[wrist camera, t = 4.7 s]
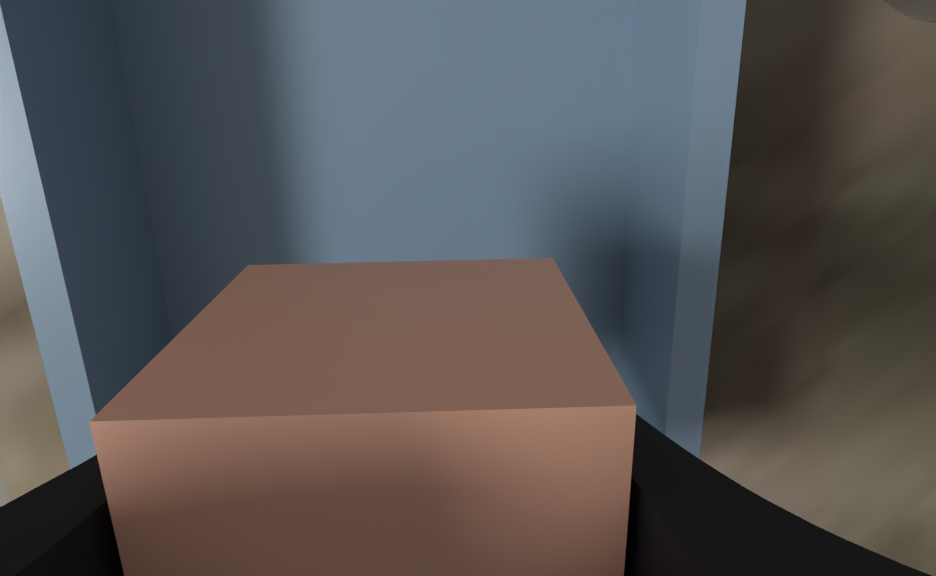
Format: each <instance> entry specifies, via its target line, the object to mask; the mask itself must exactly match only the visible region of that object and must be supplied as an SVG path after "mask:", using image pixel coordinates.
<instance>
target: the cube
mask: <svg viewBox="0 0 936 576" xmlns="http://www.w3.org/2000/svg"><path fill="white" fill-rule="evenodd" d="M636 408H637V405H636V403H635V402H634V400H633V398H632V396H631V395H630V393H629V391H628V389H627V388H626V386H625V384H624V382H623V381H622V379H621V377H620V375H619V374H618V372H617V370H616V368H615V366H614V365H613V363H612V361H611V359H610V358H609V356H608V354H607V352H606V351H605V349H604V347H603V345H602V344H601V342H600V340H599V338H598V337H597V335H596V333H595V331H594V330H593V328H592V326H591V324H590V323H589V321H588V319H587V317H586V316H585V314H584V312H583V310H582V308H581V307H580V305H579V303H578V301H577V300H576V298H575V296H574V294H573V293H572V291H571V289H570V287H569V286H568V284H567V282H566V280H565V279H564V277H563V275H562V273H561V272H560V270H559V268H558V266H557V265H556V263H555V261H554V259H553V258H526V259H484V260H441V261H399V262H356V263H314V264H271V265H248V266H247V267H246V268H245V269H244V270H243V271H242V272H241V273H240V274H239V275H238V276H237V277H236V278H235V279H234V280H233V281H232V282H231V283H230V284H229V285H228V286H226V287H225V288H224V289H223V290H222V291H221V292H220V293H219V294H218V295H217V296H216V297H215V298H214V299H213V300H212V301H211V302H210V303H209V304H208V305H207V306H206V307H205V308H204V309H203V310H202V311H201V312H200V313H199V314H198V315H197V316H196V317H195V318H194V319H193V320H192V321H191V322H190V323H189V324H188V325H187V326H186V327H185V328H184V329H183V330H182V331H181V332H180V333H179V334H178V335H177V336H176V337H175V338H174V339H173V340H172V341H171V342H170V343H169V344H168V345H167V346H166V347H165V348H164V349H163V350H162V351H160V352H159V353H158V354H157V355H156V356H155V357H154V358H153V359H152V360H151V361H150V362H149V363H148V364H147V365H146V366H145V367H144V368H143V369H142V370H141V371H140V372H139V373H138V374H137V375H136V376H135V377H134V378H133V379H132V380H131V381H130V382H129V383H128V384H127V385H126V386H125V387H124V388H123V389H122V390H121V391H120V392H119V393H118V394H117V395H116V396H115V397H114V398H113V399H112V400H111V401H110V402H109V403H108V404H107V405H106V406H105V407H104V408H103V409H102V410H101V411H100V412H99V413H98V414H97V415H96V416H95V417H93V418H92V419H91V420H90V421H89V423H90V427H91V431H92V436H93V440H94V445H95V449H96V453H97V458H98V462H99V467H100V471H101V475H102V480H103V484H104V489H105V493H106V497H107V502H108V506H109V511H110V515H111V519H112V524H113V528H114V533H115V537H116V541H117V546H118V550H119V555H120V559H121V563H122V568H123V572H124V576H624V567H625V554H626V540H627V527H628V514H629V501H630V487H631V474H632V461H633V448H634V434H635V421H636Z"/></svg>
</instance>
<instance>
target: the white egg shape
mask: <svg viewBox="0 0 936 576" xmlns="http://www.w3.org/2000/svg"><path fill="white" fill-rule="evenodd" d="M884 1H885V2H887V3H888V4H889V5H890V6H892V7H893V8H894V9H896V10H897V11H899V12H901V13H903V14H904V15H907V16H909V17H912V18H915V19H918V20H923V21H928V22H936V0H884Z"/></svg>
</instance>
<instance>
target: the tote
mask: <svg viewBox="0 0 936 576" xmlns="http://www.w3.org/2000/svg"><path fill="white" fill-rule="evenodd" d="M745 9H746V0H0V196H1V200H2V204H3V208H4V211H5V215H6V219H7V223H8V227H9V231H10V235H11V239H12V243H13V247H14V251H15V255H16V259H17V263H18V266H19V270H20V274H21V278H22V282H23V286H24V290H25V294H26V298H27V302H28V306H29V310H30V314H31V318H32V321H33V325H34V329H35V333H36V337H37V341H38V345H39V349H40V353H41V357H42V361H43V365H44V369H45V373H46V376H47V380H48V384H49V388H50V392H51V396H52V400H53V404H54V408H55V412H56V416H57V420H58V424H59V427H60V431H61V435H62V439H63V443H64V447H65V451H66V455H67V459H68V463H69V467H70V469H72V468H74V467H76V466H78V465H79V464H81V463H83V462H84V461H86V460H88V459H90V458H91V457H93V456H95V455H96V454H97V453H96V449H95V445H94V440H93V436H92V431H91V427H90V423H89V421H90V420H91V419H92V418H93V417H95V416H96V415H97V414H98V413H99V412H100V411H101V410H102V409H103V408H104V407H105V406H106V405H107V404H108V403H109V402H110V401H111V400H112V399H113V398H114V397H115V396H116V395H117V394H118V393H119V392H120V391H121V390H122V389H123V388H124V387H125V386H126V385H127V384H128V383H129V382H130V381H131V380H132V379H133V378H134V377H135V376H136V375H137V374H138V373H139V372H140V371H141V370H142V369H143V368H144V367H145V366H146V365H147V364H148V363H149V362H150V361H151V360H152V359H153V358H154V357H155V356H156V355H157V354H158V353H159V352H160V351H162V350H163V349H164V348H165V347H166V346H167V345H168V344H169V343H170V342H171V341H172V340H173V339H174V338H175V337H176V336H177V335H178V334H179V333H180V332H181V331H182V330H183V329H184V328H185V327H186V326H187V325H188V324H189V323H190V322H191V321H192V320H193V319H194V318H195V317H196V316H197V315H198V314H199V313H200V312H201V311H202V310H203V309H204V308H205V307H206V306H207V305H208V304H209V303H210V302H211V301H212V300H213V299H214V298H215V297H216V296H217V295H218V294H219V293H220V292H221V291H222V290H223V289H224V288H225V287H226V286H228V285H229V284H230V283H231V282H232V281H233V280H234V279H235V278H236V277H237V276H238V275H239V274H240V273H241V272H242V271H243V270H244V269H245V268H246V267H247V266H248V265H271V264H314V263H356V262H399V261H441V260H484V259H526V258H553V259H554V261H555V263H556V265H557V266H558V268H559V270H560V272H561V273H562V275H563V277H564V279H565V280H566V282H567V284H568V286H569V287H570V289H571V291H572V293H573V294H574V296H575V298H576V300H577V301H578V303H579V305H580V307H581V308H582V310H583V312H584V314H585V316H586V317H587V319H588V321H589V323H590V324H591V326H592V328H593V330H594V331H595V333H596V335H597V337H598V338H599V340H600V342H601V344H602V345H603V347H604V349H605V351H606V352H607V354H608V356H609V358H610V359H611V361H612V363H613V365H614V366H615V368H616V370H617V372H618V374H619V375H620V377H621V379H622V381H623V382H624V384H625V386H626V388H627V389H628V391H629V393H630V395H631V396H632V398H633V400H634V402H635V403H636V405H637V408H636V414H637V415H639V416H640V417H641V418H642V419H644V420H645V421H646V422H648V423H649V424H650V425H652V426H653V427H655V428H656V429H657V430H659V431H660V432H661V433H663V434H664V435H665V436H667V437H668V438H670V439H671V440H672V441H674V442H675V443H677V444H678V445H680V446H681V447H682V448H684V449H685V450H687V451H688V452H690V453H691V454H693V455H694V456H696V457H697V458H699V456H700V446H701V436H702V427H703V417H704V407H705V398H706V388H707V378H708V368H709V359H710V349H711V339H712V330H713V320H714V310H715V300H716V291H717V281H718V271H719V262H720V252H721V242H722V232H723V223H724V213H725V203H726V194H727V184H728V174H729V164H730V155H731V145H732V135H733V126H734V116H735V106H736V96H737V87H738V77H739V67H740V58H741V48H742V38H743V28H744V19H745Z"/></svg>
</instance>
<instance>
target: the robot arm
mask: <svg viewBox="0 0 936 576" xmlns="http://www.w3.org/2000/svg"><path fill="white" fill-rule="evenodd" d="M0 576H124V572H123V568H122V563H121V559H120V555H119V550H118V546H117V541H116V537H115V533H114V528H113V524H112V519H111V515H110V511H109V506H108V502H107V497H106V493H105V489H104V484H103V480H102V475H101V471H100V467H99V462H98V458H97V454H96V455H95V456H93V457H91V458H90V459H88V460H86V461H84V462H83V463H81V464H79V465H78V466H76V467H74V468H72V469H70V470H68V471H66V472H65V473H63V474H61V475H59V476H57V477H55V478H54V479H52V480H50V481H48V482H46V483H44V484H42V485H41V486H39V487H37V488H35V489H33V490H31V491H30V492H28V493H26V494H24V495H22V496H20V497H18V498H17V499H15V500H13V501H11V502H9V503H7V504H6V505H4V506H2V507H0ZM624 576H931V575H929V574H926V573H923V572H921V571H918V570H916V569H913V568H910V567H908V566H905V565H903V564H901V563H898V562H896V561H894V560H891V559H889V558H887V557H884V556H882V555H880V554H877V553H875V552H873V551H870V550H868V549H866V548H864V547H861V546H859V545H857V544H854V543H852V542H850V541H847V540H845V539H843V538H841V537H839V536H836V535H834V534H832V533H830V532H828V531H826V530H824V529H822V528H820V527H817V526H815V525H813V524H811V523H809V522H807V521H806V520H804V519H802V518H800V517H798V516H796V515H794V514H792V513H790V512H788V511H786V510H785V509H783V508H781V507H779V506H777V505H775V504H773V503H771V502H769V501H767V500H765V499H764V498H762V497H760V496H758V495H757V494H755V493H753V492H751V491H750V490H748V489H746V488H745V487H743V486H741V485H740V484H738V483H736V482H735V481H733V480H732V479H730V478H728V477H727V476H725V475H724V474H722V473H720V472H719V471H717V470H716V469H714V468H712V467H711V466H709V465H708V464H706V463H705V462H703V461H702V460H700V459H699V458H697V457H696V456H694V455H693V454H691V453H690V452H688V451H687V450H685V449H684V448H682V447H681V446H680V445H678V444H677V443H675V442H674V441H672V440H671V439H670V438H668V437H667V436H665V435H664V434H663V433H661V432H660V431H659V430H657V429H656V428H655V427H653V426H652V425H650V424H649V423H648V422H646V421H645V420H644V419H642V418H641V417H640V416H639V415H637V414H636V421H635V434H634V448H633V461H632V474H631V487H630V501H629V514H628V527H627V540H626V554H625V567H624Z"/></svg>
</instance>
